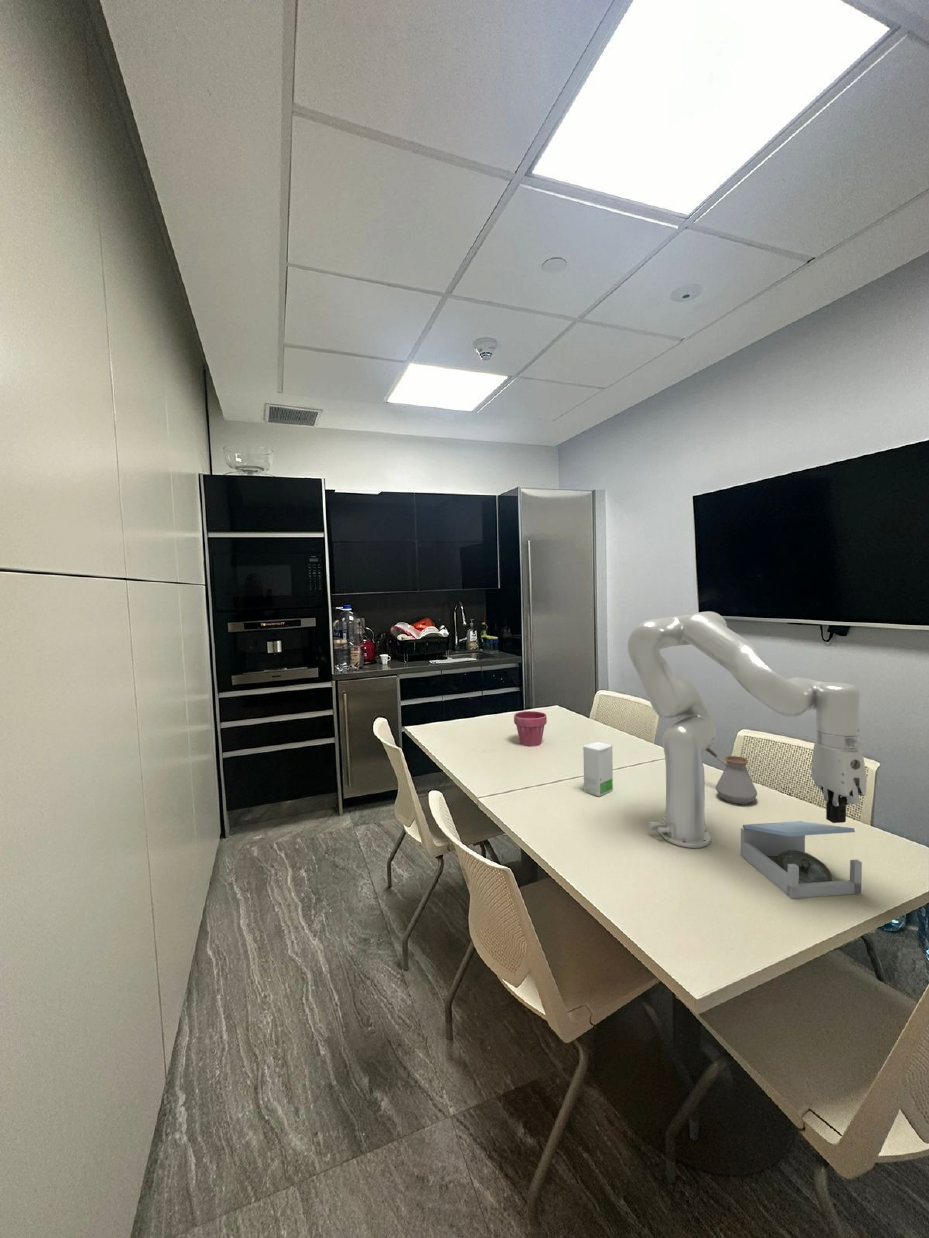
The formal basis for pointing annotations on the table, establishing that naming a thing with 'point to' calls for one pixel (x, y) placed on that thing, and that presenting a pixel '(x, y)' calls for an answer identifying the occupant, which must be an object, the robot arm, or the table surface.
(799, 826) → the cover
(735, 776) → the coffee pot
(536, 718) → the plant pot
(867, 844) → the table surface
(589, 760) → the skincare box
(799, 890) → the low-walled grey tray
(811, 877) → the lid
